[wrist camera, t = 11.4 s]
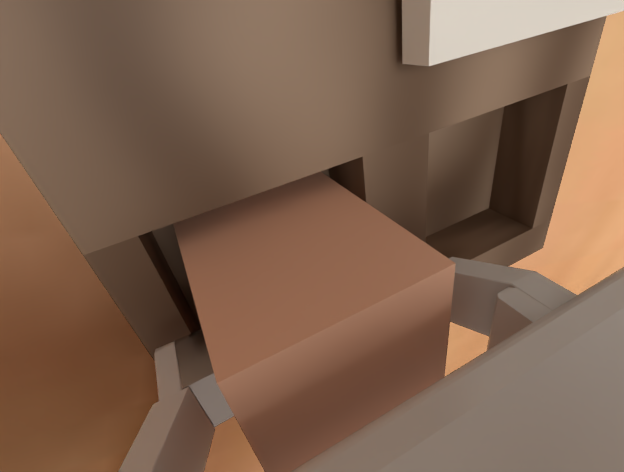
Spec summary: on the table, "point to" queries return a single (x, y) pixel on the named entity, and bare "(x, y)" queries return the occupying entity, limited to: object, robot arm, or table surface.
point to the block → (314, 314)
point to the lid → (486, 24)
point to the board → (276, 127)
